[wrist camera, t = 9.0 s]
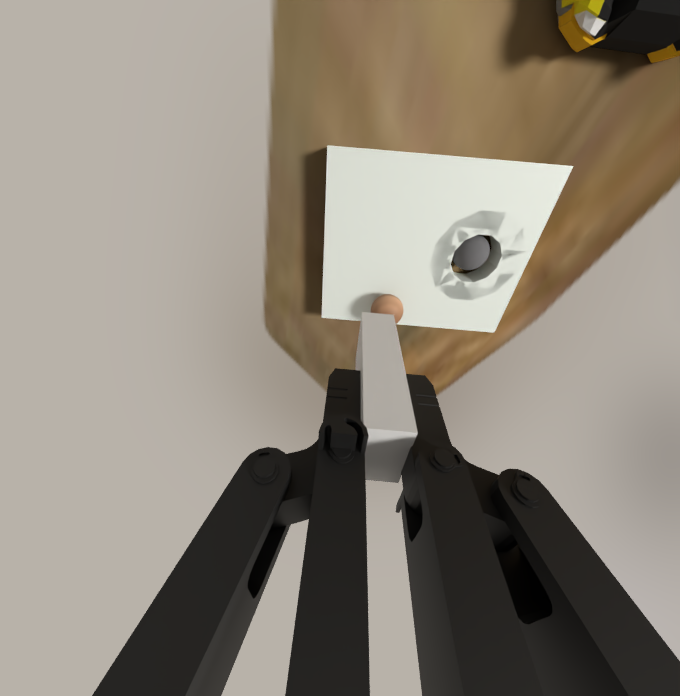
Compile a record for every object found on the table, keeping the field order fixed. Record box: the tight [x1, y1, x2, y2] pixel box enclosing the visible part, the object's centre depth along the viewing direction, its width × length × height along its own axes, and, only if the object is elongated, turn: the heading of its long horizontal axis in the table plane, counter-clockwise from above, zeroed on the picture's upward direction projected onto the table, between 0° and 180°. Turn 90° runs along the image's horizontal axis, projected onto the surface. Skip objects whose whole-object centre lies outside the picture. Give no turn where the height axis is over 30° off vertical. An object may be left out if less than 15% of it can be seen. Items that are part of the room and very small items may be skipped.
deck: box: [322, 145, 573, 333], centre depth 28 cm, size 16×20×2 cm
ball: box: [452, 235, 490, 270], centre depth 27 cm, size 3×3×3 cm
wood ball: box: [371, 294, 403, 324], centre depth 29 cm, size 3×3×3 cm
